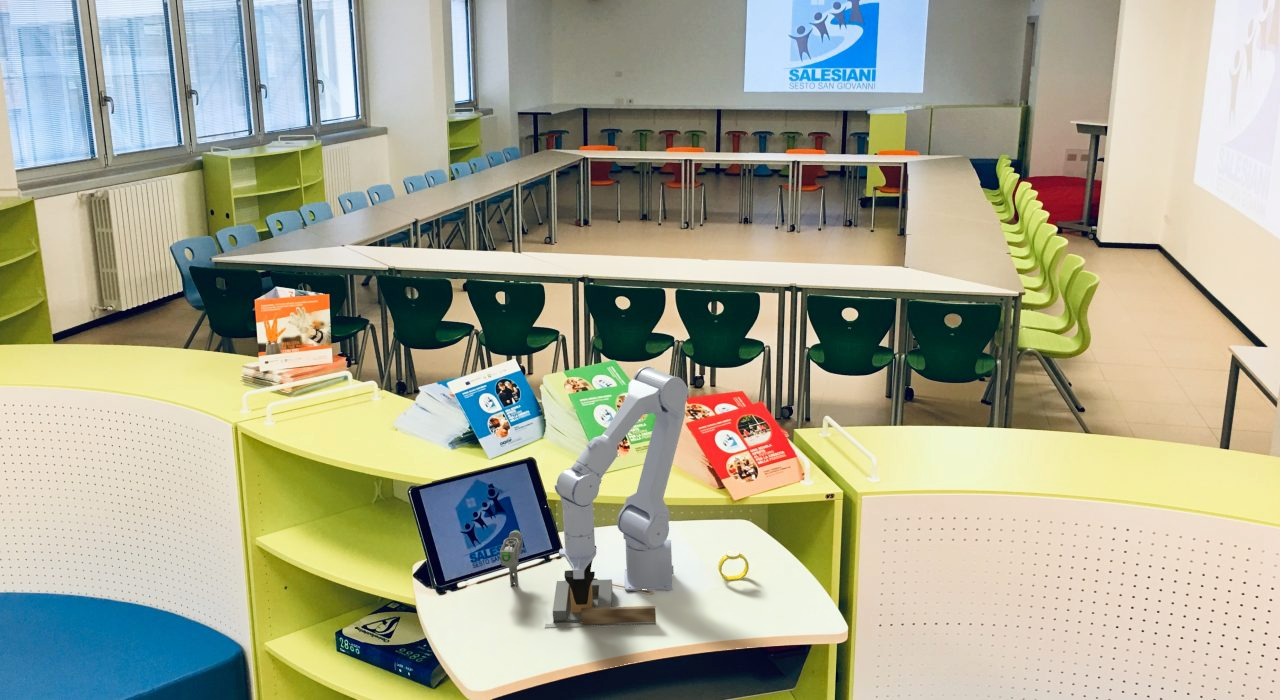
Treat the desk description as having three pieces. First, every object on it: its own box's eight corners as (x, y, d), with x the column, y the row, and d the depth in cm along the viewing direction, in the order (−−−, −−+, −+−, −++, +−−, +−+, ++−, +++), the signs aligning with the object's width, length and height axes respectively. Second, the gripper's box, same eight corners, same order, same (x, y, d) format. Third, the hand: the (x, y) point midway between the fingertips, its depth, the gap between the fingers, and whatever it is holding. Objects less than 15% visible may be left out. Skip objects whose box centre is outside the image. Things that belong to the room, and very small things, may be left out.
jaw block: (592, 600, 214) (591, 573, 212) (592, 611, 210) (590, 584, 208) (572, 601, 214) (570, 574, 212) (571, 612, 210) (569, 585, 208)
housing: (654, 589, 218) (654, 578, 217) (655, 624, 206) (655, 612, 205) (550, 592, 218) (549, 581, 217) (544, 627, 206) (544, 615, 205)
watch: (721, 585, 220) (719, 559, 218) (718, 578, 222) (716, 552, 220) (750, 579, 220) (748, 553, 218) (747, 572, 223) (744, 547, 221)
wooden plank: (655, 619, 207) (655, 605, 206) (655, 622, 206) (655, 608, 205) (582, 621, 207) (581, 608, 206) (581, 624, 206) (581, 610, 205)
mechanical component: (526, 572, 226) (523, 528, 223) (516, 598, 216) (512, 553, 213) (512, 571, 226) (508, 528, 223) (501, 598, 217) (498, 553, 214)
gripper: (560, 512, 213) (564, 574, 218) (555, 549, 200) (559, 614, 204) (596, 511, 213) (599, 573, 218) (593, 548, 200) (597, 612, 204)
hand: (582, 593), depth 211 cm, fingers open, 7 cm apart
